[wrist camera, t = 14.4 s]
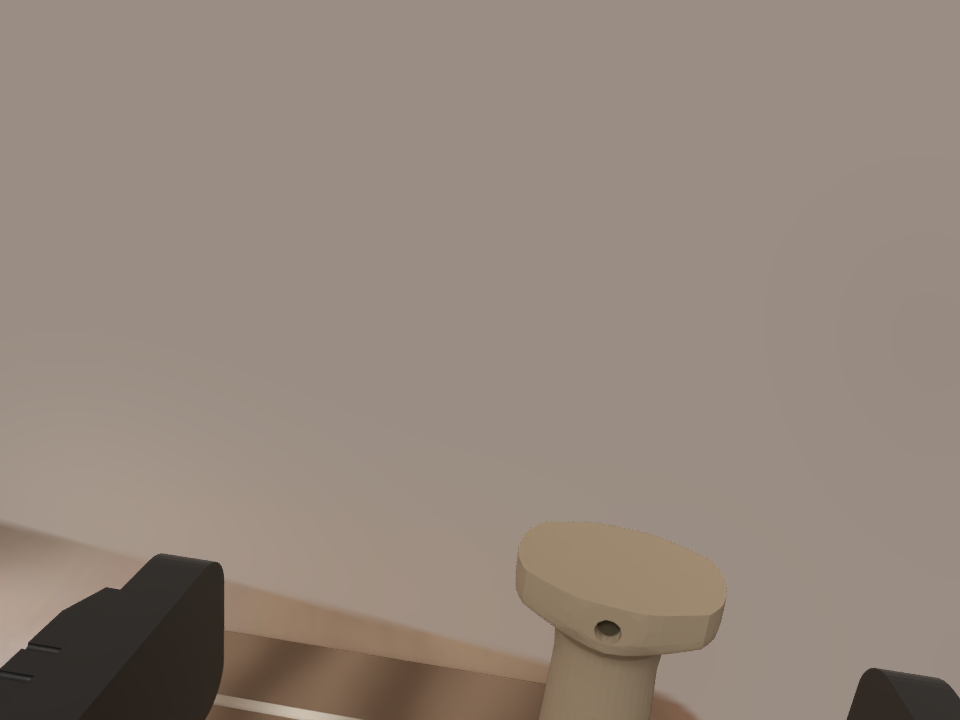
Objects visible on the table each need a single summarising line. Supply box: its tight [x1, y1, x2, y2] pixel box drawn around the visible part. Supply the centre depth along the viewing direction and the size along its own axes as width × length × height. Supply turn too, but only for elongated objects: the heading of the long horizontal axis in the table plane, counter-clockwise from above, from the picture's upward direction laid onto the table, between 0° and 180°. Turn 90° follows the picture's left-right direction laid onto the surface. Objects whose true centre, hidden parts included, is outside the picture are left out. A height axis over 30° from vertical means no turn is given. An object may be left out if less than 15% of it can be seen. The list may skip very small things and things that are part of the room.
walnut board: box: [205, 631, 546, 720], centre depth 33 cm, size 22×6×2 cm, turn 83°
